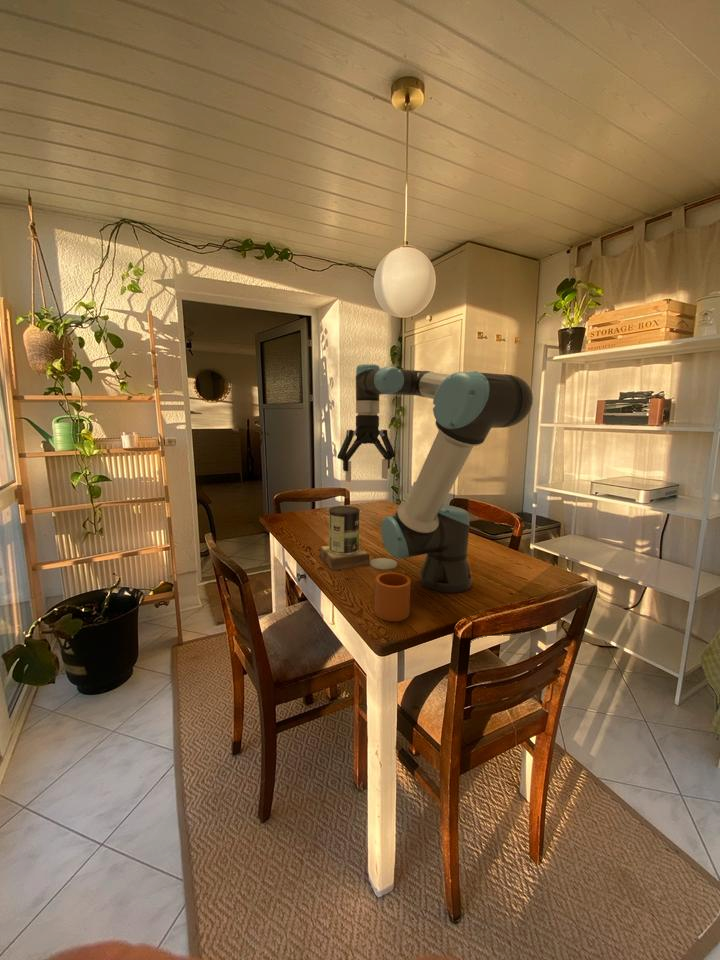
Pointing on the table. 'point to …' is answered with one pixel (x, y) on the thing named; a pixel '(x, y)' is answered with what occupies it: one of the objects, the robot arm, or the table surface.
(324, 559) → the block
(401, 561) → the table surface
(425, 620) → the table surface
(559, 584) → the table surface
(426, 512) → the robot arm
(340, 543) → the coffee can
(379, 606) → the mug
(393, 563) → the felt coaster
